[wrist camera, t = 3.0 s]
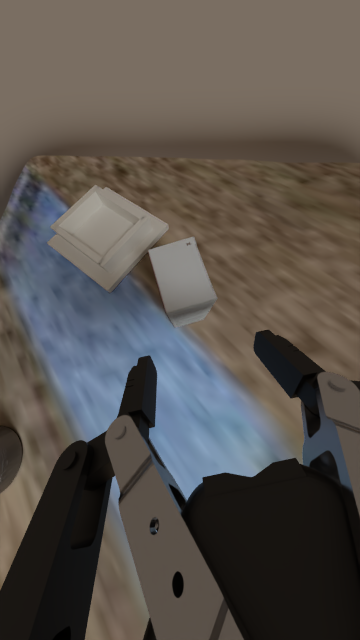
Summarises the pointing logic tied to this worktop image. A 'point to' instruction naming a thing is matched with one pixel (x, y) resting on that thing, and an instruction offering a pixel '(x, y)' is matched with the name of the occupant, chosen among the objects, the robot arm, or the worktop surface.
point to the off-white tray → (106, 235)
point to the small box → (182, 281)
